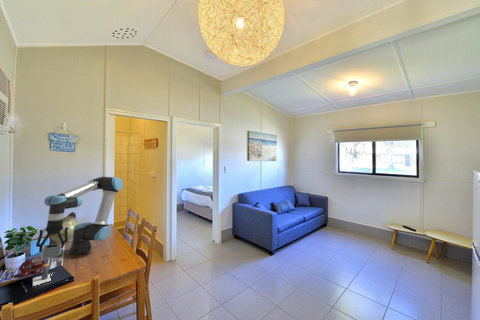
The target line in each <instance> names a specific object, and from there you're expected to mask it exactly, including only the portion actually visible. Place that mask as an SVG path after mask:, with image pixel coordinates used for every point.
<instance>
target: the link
mask: <svg viewBox="0 0 480 320" xmlns="http://www.w3.org/2000/svg"><path fill="white" fill-rule="evenodd" d="M43 246H44V251H43V259H46V260H47V259H50V258H51V259H52V258H56V257H59V256H60V254H61V253H60V244H59V243H53V244H44V245H43ZM59 253H60V254H59Z"/></svg>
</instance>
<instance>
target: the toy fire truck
mask: <svg viewBox="0 0 480 320" xmlns="http://www.w3.org/2000/svg"><path fill="white" fill-rule="evenodd" d="M46 260H47V258H46V259H43V257H42V258H41V255H40V256H35V257H31V258H30V257H29V258H26V259H25V260H24V261H23V262H22V263H21V265H20V266H18V269H17V275H18V276H19V275H21V276H22V277H23V278H24V277H29V276H30V275H31V274H32V273H33V274H35V275H38V274H40V273H42V270H43V265H44V264H46ZM37 273H38V274H37Z"/></svg>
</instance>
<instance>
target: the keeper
mask: <svg viewBox="0 0 480 320" xmlns="http://www.w3.org/2000/svg"><path fill="white" fill-rule="evenodd" d="M49 268H50V263H49V262H48V263H45V264H44V265H43V269H42V271H41V275H40V276H35V277H33V278H32V287H33V286H35V287H37V286H36V285H39V286H41V285H40V284H42V283H45V282H49V281H51V278H50V274H51V273H49V270H50V269H49ZM53 273H54V272H52V274H53ZM52 274H51V276H52Z"/></svg>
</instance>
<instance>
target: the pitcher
mask: <svg viewBox="0 0 480 320" xmlns="http://www.w3.org/2000/svg"><path fill="white" fill-rule="evenodd" d="M76 218H77V215H76V212H74V211H71V212H69V214H67V216H64V218H63V227H68V230H67V236H68V242H65V243H64V244H66V243H70V242H73V232H74V227H75V226H76V225H78V224H80V223H79V222H78V220H76ZM60 234H61V236H62V239H63V241H64V240H65V232H64V230H63V229H62V230H61V231H60ZM49 238H50V239H51V240H52V241H53V242H54V244H58V243H59V244H60V243H61V240H60V238H59V236H58V234H52V235H50V236H49Z"/></svg>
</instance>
